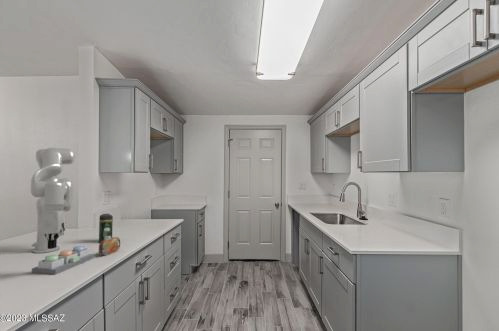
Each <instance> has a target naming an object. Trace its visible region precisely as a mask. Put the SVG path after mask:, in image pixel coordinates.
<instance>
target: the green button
mask: <svg viewBox="0 0 499 331" xmlns="http://www.w3.org/2000/svg"><path fill="white" fill-rule="evenodd" d="M58 255H59V254H51V255H47V256H46V255H45V257H44V260H45V262H53V261H56V260H58Z"/></svg>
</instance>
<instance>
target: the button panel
mask: <svg viewBox="0 0 499 331" xmlns="http://www.w3.org/2000/svg"><path fill="white" fill-rule="evenodd" d="M57 255H58V260H56V261H53V262H45V259H42V260H39V261H38V262H37V264H38V265H37V266H35V267H32V268H31V274H41V273H42V274H43V275H44V274H45V275H58V274H60V273H62V272H64V271H67V270H69V269H72V268H74V267H76V266H79V265H81V264H84V263H86V262H88V261H90V260H92V259H95V254H94V253H90V248H85V250H84V251H81V252H73V249H72V255H70V256H67V257H64V256H60V253H59V254H57Z"/></svg>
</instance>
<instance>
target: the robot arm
mask: <svg viewBox="0 0 499 331" xmlns="http://www.w3.org/2000/svg"><path fill="white" fill-rule="evenodd" d="M75 156H76V155H75V152H74V150H73V149H71V148H61V147H49V148H42V149H37V151H36V152H35V159H36V162H37V165H38V166H39V169H38V170H37V171H35V172H34V174H33V175H32V176H31V180H30V193H31V195H32V196H33V197H35V198H38V199H37V200H36V203H35V204H36V211H37V212H36V213H37V222H36V223H37V224H36V225H37V226H36V229H37V230H36V242H33V243H31V247H32V248H33V247H34V249H32V252H33V253H35V254H40V253H41V254H42V253H44V254H45V253H50V252H55V251H57V250H60V246H59V245H57V244H58V243H57V242H58V239H59V238H60V237H61V236H64V235H65V231H66V213H65V212H69V211H71V210H72V208H73V190H74V187H73V180H71V178H65V177H64V178H63V177H62V178H61V177H59V175H60V174H61V173H62V172H63V165H72V164H73V163H75V158H76V157H75Z"/></svg>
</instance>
